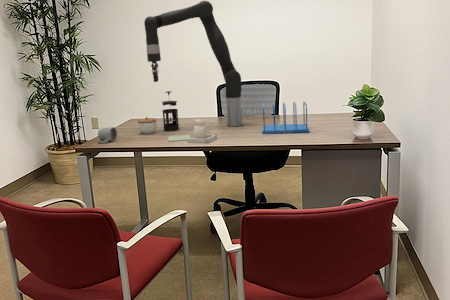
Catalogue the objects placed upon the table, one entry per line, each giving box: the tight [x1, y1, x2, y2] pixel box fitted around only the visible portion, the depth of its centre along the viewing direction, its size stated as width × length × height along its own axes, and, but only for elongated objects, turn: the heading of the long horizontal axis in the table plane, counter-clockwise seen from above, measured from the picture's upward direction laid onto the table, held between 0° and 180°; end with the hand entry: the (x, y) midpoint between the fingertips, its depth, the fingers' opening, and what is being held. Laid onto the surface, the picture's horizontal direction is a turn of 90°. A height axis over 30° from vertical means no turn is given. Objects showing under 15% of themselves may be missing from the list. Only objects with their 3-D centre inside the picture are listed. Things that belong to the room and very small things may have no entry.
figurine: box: [192, 118, 210, 139], centre depth 234 cm, size 8×6×11 cm
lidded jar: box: [137, 116, 157, 135], centre depth 262 cm, size 11×11×9 cm
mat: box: [167, 134, 192, 143], centre depth 243 cm, size 12×12×1 cm
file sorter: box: [261, 101, 310, 135], centre depth 250 cm, size 25×17×15 cm
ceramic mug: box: [97, 126, 118, 145], centre depth 243 cm, size 11×8×8 cm
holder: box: [187, 134, 218, 144], centre depth 235 cm, size 11×11×2 cm
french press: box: [161, 90, 180, 132], centre depth 267 cm, size 12×9×23 cm
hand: (156, 81), depth 261 cm, fingers open, 8 cm apart
